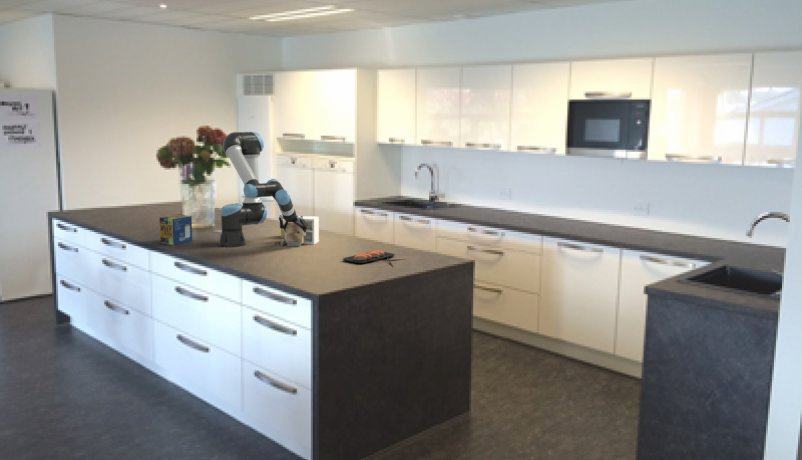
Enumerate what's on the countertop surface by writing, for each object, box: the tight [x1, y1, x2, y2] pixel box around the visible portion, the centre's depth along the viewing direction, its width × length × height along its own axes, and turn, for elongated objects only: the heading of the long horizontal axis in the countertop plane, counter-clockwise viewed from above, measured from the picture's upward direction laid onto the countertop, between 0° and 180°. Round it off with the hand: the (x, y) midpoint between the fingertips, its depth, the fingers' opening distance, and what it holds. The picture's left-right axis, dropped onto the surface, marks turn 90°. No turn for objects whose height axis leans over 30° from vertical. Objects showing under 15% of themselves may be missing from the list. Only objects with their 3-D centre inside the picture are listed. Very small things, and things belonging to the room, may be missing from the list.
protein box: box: [159, 214, 193, 246], centre depth 395 cm, size 10×15×16 cm
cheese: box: [280, 220, 285, 240], centre depth 416 cm, size 10×11×10 cm
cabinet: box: [280, 215, 320, 247], centre depth 397 cm, size 18×18×15 cm
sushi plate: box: [342, 250, 406, 268], centre depth 353 cm, size 29×30×4 cm
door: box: [287, 222, 304, 244], centre depth 391 cm, size 9×4×12 cm, turn 81°
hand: (297, 234), depth 395 cm, fingers closed on door, 9 cm apart
